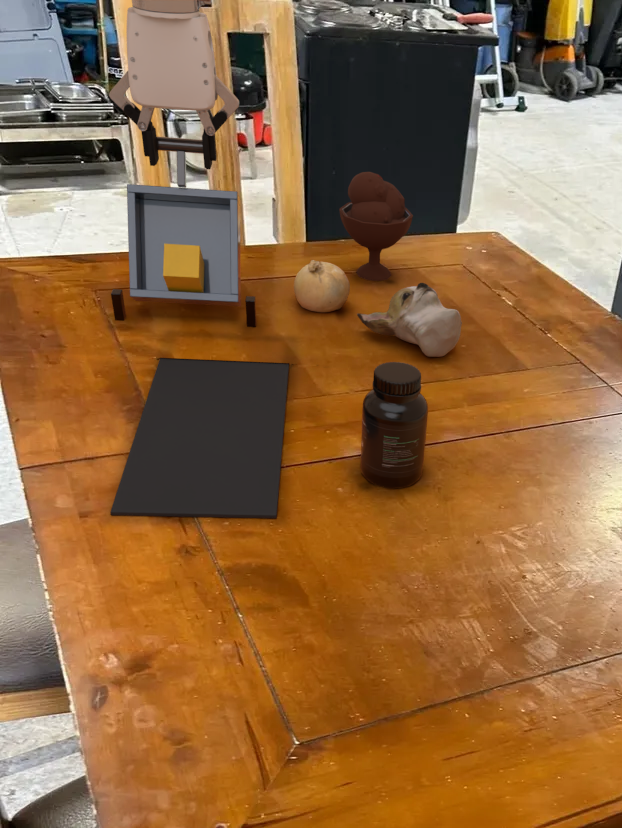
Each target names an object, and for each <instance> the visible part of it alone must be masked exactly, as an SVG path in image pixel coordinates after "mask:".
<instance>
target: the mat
mask: <svg viewBox="0 0 622 828" xmlns="http://www.w3.org/2000/svg"><path fill="white" fill-rule="evenodd" d="M289 371H290V362H272V361H271V362H269V361H246V360H225V359H224V360H220V359H201V358H200V359H199V358H175V357H159V360H158V364H157V366H156V370H155V372H154V376H153V379H152V382H151V385H150V388H149V391H148V394H147V397H146V400H145V404H144V406H143V409H142V413H141V416H140V420H139V422H138V425H137V428H136V431H135V434H134V438H133V440H132V444H131V447H130V450H129V453H128V456H127V459H126V462H125V465H124V469H123V471H122V475H121V478H120V481H119V484H118V487H117V490H116V493H115V497H114V499H113V503H112V506H111V509H110V512H109V513H110V516H130V517H135V516H136V517H179V518H180V517H183V518H186V517H187V518H230V519H231V518H233V519H234V518H236V519H277V517H278V507H279V505H278V504H279V496H280V495H279V494H280V481H281V469H282V456H283V444H284V443H283V442H284V434H285V433H284V432H285V420H286V419H285V418H286V409H287V408H286V407H287V396H288V383H289V382H288V381H289V373H290V372H289Z"/></svg>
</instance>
